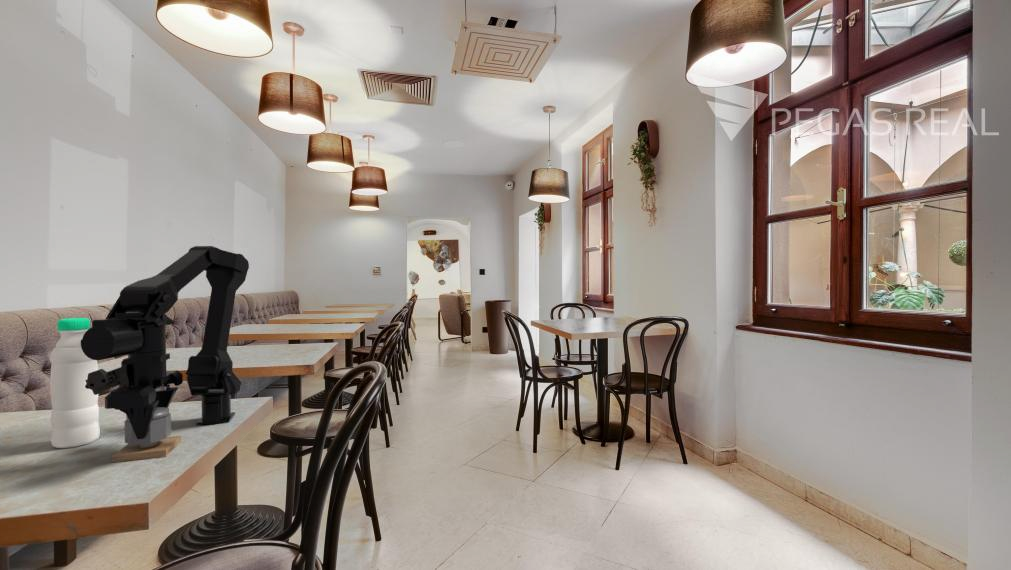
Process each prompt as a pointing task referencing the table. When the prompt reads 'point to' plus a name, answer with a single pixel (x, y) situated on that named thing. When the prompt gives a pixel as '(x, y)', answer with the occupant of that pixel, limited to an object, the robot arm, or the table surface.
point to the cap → (151, 428)
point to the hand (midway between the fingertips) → (148, 432)
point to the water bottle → (72, 388)
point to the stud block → (147, 450)
